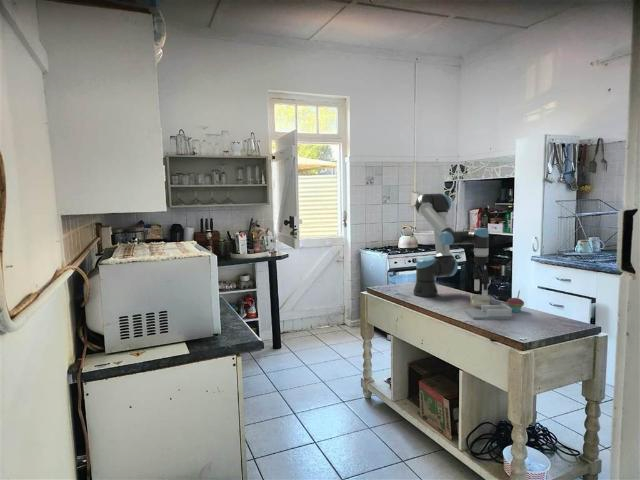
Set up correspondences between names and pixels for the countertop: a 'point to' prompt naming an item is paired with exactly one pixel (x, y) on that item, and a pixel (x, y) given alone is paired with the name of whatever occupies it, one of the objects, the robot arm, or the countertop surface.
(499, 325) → the countertop surface
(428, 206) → the robot arm
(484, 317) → the rail board
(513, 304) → the cupcake
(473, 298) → the panel block
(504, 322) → the countertop surface
